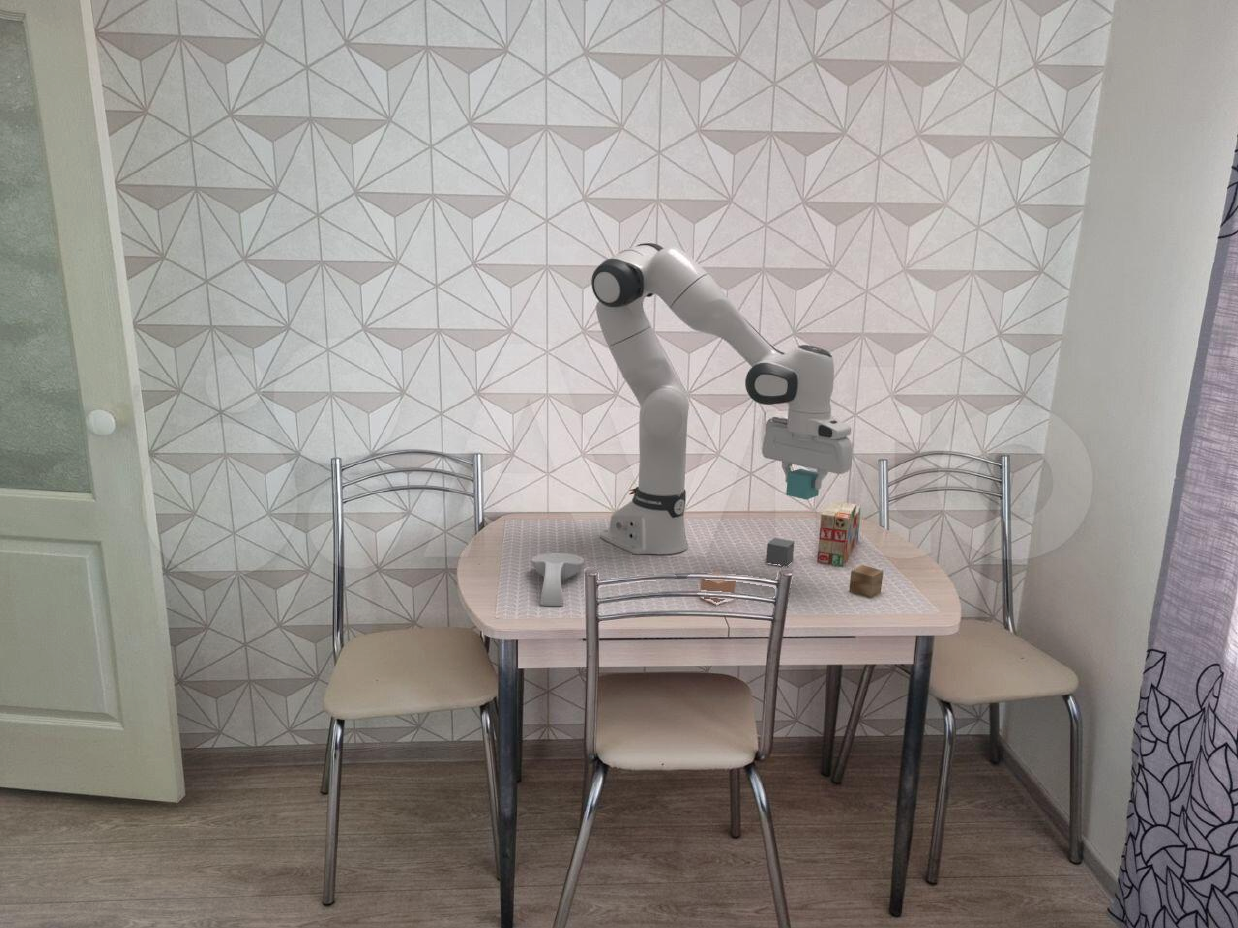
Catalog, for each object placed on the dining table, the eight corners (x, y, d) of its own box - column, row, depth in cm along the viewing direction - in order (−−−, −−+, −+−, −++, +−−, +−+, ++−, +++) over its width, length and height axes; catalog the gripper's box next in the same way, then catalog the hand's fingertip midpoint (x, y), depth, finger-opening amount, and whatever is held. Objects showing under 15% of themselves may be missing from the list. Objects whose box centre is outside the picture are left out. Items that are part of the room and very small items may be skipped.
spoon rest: (532, 565, 205) (533, 535, 203) (584, 567, 205) (585, 537, 203) (523, 607, 182) (524, 574, 180) (582, 608, 182) (582, 575, 180)
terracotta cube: (700, 598, 189) (701, 575, 188) (717, 593, 192) (718, 571, 191) (716, 606, 185) (718, 583, 184) (733, 600, 188) (735, 578, 187)
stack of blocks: (833, 537, 231) (837, 491, 228) (858, 541, 229) (862, 494, 226) (816, 563, 212) (821, 513, 209) (843, 567, 210) (848, 517, 206)
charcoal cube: (765, 563, 210) (767, 543, 209) (772, 557, 215) (774, 537, 213) (786, 567, 208) (788, 547, 207) (792, 561, 212) (794, 541, 211)
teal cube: (786, 494, 195) (788, 472, 193) (798, 490, 198) (800, 468, 197) (806, 499, 191) (808, 477, 190) (818, 495, 195) (820, 473, 194)
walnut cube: (849, 592, 195) (851, 570, 194) (859, 586, 199) (862, 564, 197) (870, 598, 192) (872, 576, 190) (881, 592, 195) (883, 570, 194)
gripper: (758, 417, 195) (754, 478, 199) (843, 432, 182) (837, 498, 186) (774, 413, 200) (770, 473, 203) (858, 428, 187) (852, 492, 190)
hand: (803, 485), depth 194 cm, fingers closed on teal cube, 5 cm apart
